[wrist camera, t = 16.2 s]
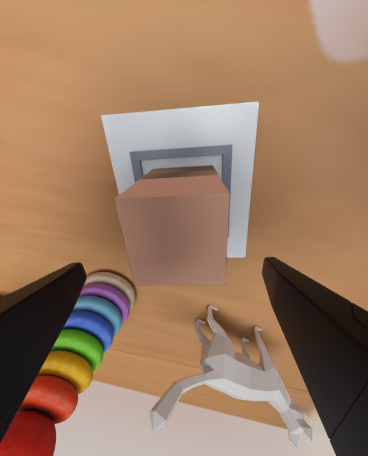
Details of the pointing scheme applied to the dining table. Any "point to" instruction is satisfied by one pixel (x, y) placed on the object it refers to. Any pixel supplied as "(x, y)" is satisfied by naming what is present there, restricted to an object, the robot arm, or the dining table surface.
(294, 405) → the cat figurine
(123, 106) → the dining table surface
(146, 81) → the dining table surface
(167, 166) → the board
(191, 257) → the terracotta block
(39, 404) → the stacking toy
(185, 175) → the walnut block
